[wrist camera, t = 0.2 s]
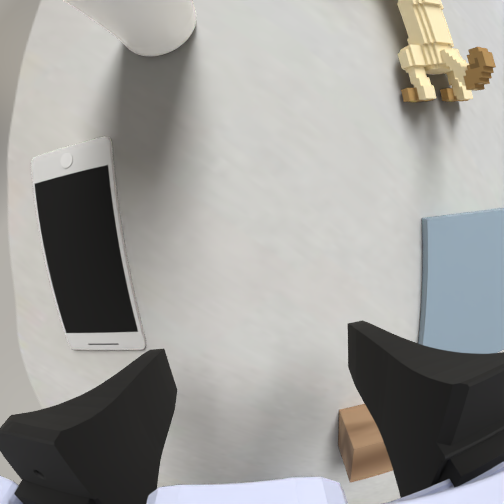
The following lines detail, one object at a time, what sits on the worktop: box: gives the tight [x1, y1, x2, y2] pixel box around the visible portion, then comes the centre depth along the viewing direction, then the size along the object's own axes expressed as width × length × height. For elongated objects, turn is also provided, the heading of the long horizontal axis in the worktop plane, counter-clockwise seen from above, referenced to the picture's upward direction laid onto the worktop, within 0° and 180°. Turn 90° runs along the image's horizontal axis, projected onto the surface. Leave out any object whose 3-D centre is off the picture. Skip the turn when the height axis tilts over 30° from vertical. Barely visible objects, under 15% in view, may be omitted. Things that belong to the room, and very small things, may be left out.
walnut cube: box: [338, 404, 393, 482], centre depth 22 cm, size 5×5×5 cm
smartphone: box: [31, 136, 146, 350], centre depth 21 cm, size 7×15×1 cm, turn 6°
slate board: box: [418, 208, 504, 354], centre depth 22 cm, size 14×11×1 cm
